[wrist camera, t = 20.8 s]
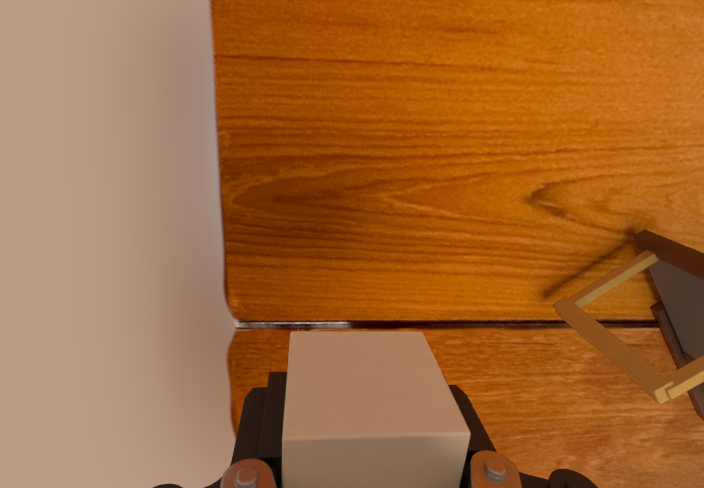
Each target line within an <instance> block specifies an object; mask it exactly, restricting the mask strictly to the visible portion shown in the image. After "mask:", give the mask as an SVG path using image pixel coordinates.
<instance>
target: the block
mask: <svg viewBox="0 0 704 488" xmlns="http://www.w3.org/2000/svg"><path fill="white" fill-rule="evenodd" d="M470 434H471V433H470V430H469V428H468V426H467V424H466V422H465V420H464V418H463V416H462V414H461V412H460V410H459V408H458V405H457V403H456V401H455V399H454V397H453V395H452V393H451V391H450V389H449V387H448V385H447V382H446V380H445V378H444V376H443V374H442V372H441V370H440V368H439V366H438V364H437V362H436V360H435V357H434V355H433V353H432V351H431V349H430V347H429V345H428V343H427V341H426V339H425V337H424V334H423V332H384V331H293V332H291V334H290V345H289V357H288V370H287V383H286V395H285V408H284V421H283V434H282V488H459V487H460V482H461V477H462V473H463V468H464V463H465V459H466V454H467V449H468V445H469V440H470Z"/></svg>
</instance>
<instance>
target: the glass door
mask: <svg viewBox="0 0 704 488" xmlns="http://www.w3.org/2000/svg"><path fill="white" fill-rule="evenodd" d="M633 237H634V239H635V242H636V244H637V246H638V249H639V250H641V252H642V253H641V254H639V255H638V256H636V257H634V258H633V259H631V260H630V261H628V262H626V263H625V264H623V265H621V266H620V267H618V268H617V269H615V270H613V271H612V272H610V273H609V274H607V275H605V276H604V277H602V278H600V279H599V280H597V281H596V282H594V283H592V284H591V285H589V286H588V287H586V288H584V289H583V290H581V291H579V292H578V293H576V294H575V295H573V296H571V297H570V298H566V297H564V298H563V299H561V300H559V301H558V302H556V303H555V304H553V307H554V308H555V310H556V312H557V314H558V315H559V316H560V317H561V318H562V319H564V320H565V321H566V322H567V323H568V324H569V325H570V326H571V327H573V328H574V329H575V330H576V331H577V332H578V333H579V334H581V335H582V336H583V337H584V338H585V339H586V340H587V341H588V342H590V343H591V344H592V345H593V346H594V347H595V348H596V349H597V350H599V351H600V352H601V353H602V354H603V355H604V356H605V357H607V358H608V359H609V360H610V361H611V362H612V363H613V364H614V365H616V366H617V367H618V368H619V369H620V370H621V371H622V372H623V373H625V374H626V375H627V376H628V377H629V378H630V379H631V380H633V381H634V382H635V383H636V384H637V385H638V386H639V387H640V388H642V389H643V390H644V391H645V392H646V393H647V394H648V395H650V396H651V397H652V398H653V399H654V400H655V401H656V402H657V403H659V404H662V403H664V402H666V401H667V400H669V399H671V400H672V399H674V398H676V397H678V396H679V395H681V394H683V393H685V392H686V391H688V390H690V389H692V388H694V387H695V386H697V385H699V384H701V383H702V382H704V253H701V252H699V251H696V250H694V249H692V248H689V247H687V246H684V245H682V244H679V243H677V242H674V241H672V240H669V239H667V238H664V237H662V236H660V235H657V234H655V233H652V232H650V231H647V230H643V231H641V232H639V233H638V234H636V235H635V236H633ZM647 267H648V269H649V271H650V273H651V276H652V278H653V280H654V283H655V285H656V288H657V290H658V292H659V295H660V297H661V299H662V302H663V304H664V306H665V309H666V311H667V313H668V316H669V318H670V321H671V323H672V325H673V328H674V330H675V332H676V335H677V337H678V339H679V342H680V344H681V346H682V349H683V354H684V356H685V359H686V361H687V362H688V363H689V364H687V365H685V366H684V367H682V368H680V369H678V370H677V371H675V372H673V373H672V374H670V375H668V376H665V375H664V374H663V373H661V372H660V371H659V370H658V369H656V368H655V367H654V366H653V365H651V364H650V363H649V362H648V361H646V360H645V359H644V358H642V357H641V356H640V355H639V354H637V353H636V352H635V351H634V350H632V349H631V348H630V347H629V346H627V345H626V344H625V343H623V342H622V341H621V340H620V339H618V338H617V337H616V336H615V335H613V334H612V333H611V332H610V331H608V330H607V329H606V328H604V327H603V326H602V325H601V324H599V323H598V322H597V321H596V320H594V319H593V318H592V317H591V316H589V315H588V314H587V313H585V312H584V311H583V310H582V309H580V308H582V307H583V306H585V305H587V304H588V303H590V302H591V301H593V300H595V299H596V298H598V297H600V296H601V295H603V294H605V293H606V292H608V291H609V290H611V289H613V288H614V287H616V286H618V285H619V284H621V283H622V282H624V281H626V280H627V279H629V278H631V277H632V276H634V275H635V274H637V273H639V272H640V271H642V270H644V269H645V268H647Z"/></svg>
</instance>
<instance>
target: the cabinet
mask: <svg viewBox="0 0 704 488" xmlns="http://www.w3.org/2000/svg"><path fill="white" fill-rule="evenodd" d="M651 309H652V311H653V314H654V316H655V318H656V320H657V323H658V325H659V327H660V329H661V332H662V334H663V336H664V338H665V341H666V343H667V345H668V347H669V350H670V352H671V354H672V357H673V359H674V361H675V363H676V366H677V368H678V369H680V368H682V367H684V366H685V365H687V364H689V363H688V362H687V361H686V359H685V356H684V354H683V349H682V346H681V344H680V342H679V339H678V337H677V335H676V332H675V330H674V328H673V325H672V323H671V321H670V318H669V316H668V313H667V311H666V309H665V306H664V304H663V302H662V301H661V302H659V303H658V304H656V305H654V306H653V307H651ZM688 393H689V395H690V397H691V399H692V402H693V404H694V406H695V408H696V411H697V413H698V415H699V417H701V418H702V419H703V420H704V382H702V383H701V384H699V385H697V386H695V387H694V388H692V389H690V390H688Z"/></svg>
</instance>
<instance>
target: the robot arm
mask: <svg viewBox="0 0 704 488" xmlns="http://www.w3.org/2000/svg"><path fill="white" fill-rule="evenodd" d="M442 374H443V373H442ZM443 376H444V375H443ZM444 378H445V377H444ZM286 383H287V372H270V373H269V379H268V386H267V387H258V388H253V389H252V390H251V391H250V392H249V394H248V395H247V396H246V398H245V400H244V405H243V410H242V414H241V419H240V424H239V428H238V433H237V438H236V443H235V447H234V452H233V457H232V462H231V465H230V467H229V468H228V469H227V470H226V471H225V473H224V474H223V476H222V477H221V478H220V479H219V480H218V481H216V482H215V483H213V484H212V485H210V486H207V487H205V488H282V434H283V421H284V408H285V395H286ZM447 385H448V384H447ZM448 387H449V389H450V391H451V393H452V395H453V397H454V399H455V401H456V403H457V405H458V408H459V410H460V412H461V414H462V416H463V418H464V420H465V422H466V424H467V426H468V428H469V430H470V433H471V434H470V440H469V445H468V449H467V454H466V459H465V463H464V468H463V473H462V477H461V482H460V487H459V488H598V487H597V486H596V485H595V484H594V483H593V482H591V481H590V480H589V479H588V478H586V477H585V476H583V475H582V474H580V473H578V472H575V471H572V470H569V469H557V470H555V471H553V472H552V473H551V474H550V477H549V480H547V479H543V478H539V477H535V476H531V475H527V474H524V473H521V472H519V471H518V470H517V468H516V467H515V465H514V464H513V463H512V462H511V461H510V460H509V459H508V458H506V457H505V456H503V455H502V454H500V453H497V452H496V450H495V448H494V446H493V444H492V442H491V440H490V438H489V436H488V435H487V433H486V431H485V429H484V427H483V425H482V423H481V421H480V419H479V418H478V416H477V414H476V412H475V410H474V409H473V406H472V404H471V402H470V400H469V398H468V396H467V395H466V394H465V393H464V392H463V391H462V390H461V389H460V388H459V387H458V386H456V385H448ZM153 488H182V487H180V486H179V485H175V484H163V485H159V486H156V487H153Z"/></svg>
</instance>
